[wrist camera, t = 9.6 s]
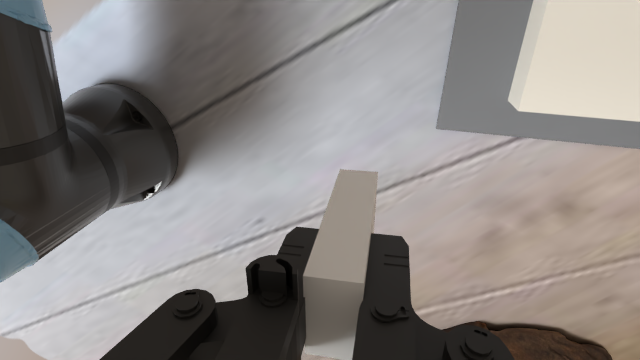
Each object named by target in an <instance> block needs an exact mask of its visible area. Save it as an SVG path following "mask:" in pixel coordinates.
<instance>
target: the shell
mask: <svg viewBox="0 0 640 360" xmlns="http://www.w3.org/2000/svg"><path fill="white" fill-rule="evenodd" d="M462 325H472V326H478V327H481V328H483V329H486V330H488V328H487V327H486V326H487V325H486V324H485V323H481V322H479V321H476V322H471V323H465V324H461V325H458V326H462ZM455 327H457V326H455ZM455 327H452V328H449V329H443V330H442V331H445V332H447V333H448V332H449V331H451V330H452V329H453V328H455ZM490 332H492V333H493V334H495V335H496V336H497V337H499V338H500V339H501V340H502V342H503V343H504V344H505V345H506V346H507V348H508V349H509V351H510V353H511V354H512V356H513V358H514V359H515V360H612V357H611V356H610V355H609V354H608V353H607V351H606V350H605V349H603V348H600V347H598V346H594V345H590V344H579V343H576V342H572V341H569V340H568V339H566V338H565V336H564V335H562V334H561V333H559V332H555V331H547V330H537V329H529V328H507V329H503V330H501V331H492V330H490Z"/></svg>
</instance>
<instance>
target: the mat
mask: <svg viewBox="0 0 640 360" xmlns="http://www.w3.org/2000/svg"><path fill="white" fill-rule="evenodd" d="M532 4H533V0H459V3H458V9H457V14H456V20H455V25H454V31H453V37H452V42H451V48H450V53H449V59H448V65H447V70H446V76H445V81H444V87H443V93H442V98H441V104H440V109H439V115H438V121H437V126H436V129H443V130H453V131H463V132H473V133H483V134H493V135H504V136H514V137H524V138H534V139H544V140H554V141H565V142H575V143H585V144H595V145H605V146H615V147H625V148H636V149H640V122H637V121H625V120H614V119H603V118H591V117H580V116H568V115H557V114H545V113H534V112H522V111H517V110H516V108H515V107H514V106H513V105H512V104H511V103H510V102H509V101H508V97H509V93H510V90H511V86H512V82H513V78H514V74H515V70H516V66H517V62H518V58H519V54H520V50H521V47H522V43H523V39H524V35H525V31H526V27H527V23H528V19H529V15H530V11H531V8H532Z"/></svg>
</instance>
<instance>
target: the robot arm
mask: <svg viewBox="0 0 640 360" xmlns="http://www.w3.org/2000/svg"><path fill="white" fill-rule="evenodd" d="M50 32H52V28H51V26H50V25H49V24H48V22H47V18H46V14H45V10H44V7H43V2H42V0H0V282H2V281H4V280H6V279H7V278H9V277H11V276H12V275H14V274H15V273H17V272H19V271H20V270H22V269H24V268H25V267H29V266H32V265H34V264H35V263H36V262H37V261H38V260H39V259H41V258H42V257H43V256H45V255H46V254H48V253H49V252H50V251H52V250H53V249H55V248H56V247H57V246H59V245H60V244H62V243H63V242H64V241H66V240H67V239H69V238H70V237H71V236H73V235H74V234H76V233H77V232H78V231H80V230H81V229H83V228H84V227H85V226H87V225H88V224H90V223H91V222H92V221H94V220H95V219H97V218H98V217H99V216H101V215H102V214H103V213H105V212H106V211H108V210H109V209H112V208H116V207H120V206H125V205H129V204H133V203H137V202H141V201H144V200H147V199H149V198H151V197H153V196H154V195H156V194H157V193H158V192H160V191H161V190H162V189H164V188H165V187H166V186H167V185H168V184H169V183H170V182H171V180H172V179H173V177H174V175H175V172H176V168H177V163H178V152H177V145H176V141H175V138H174V135H173V133H172V130H171V128H170V126H169V124H168V123H167V121H166V119H165V118H164V116H163V115H162V114H161V112H160V111H159V110H158V109H157V108H156V107H155V106H154V105H153V104H152V103H151V102H150V101H149V100H148V99H146V98H145V97H144V96H142V95H141V94H139V93H138V92H136V91H134V90H132V89H130V88H127V87H124V86H121V85H117V84H99V85H95V86H91V87H88V88H84V89H81V90H79V91H77V92H75V93H74V94H72V95H71V96H70V97H69V98H68V99H66V100H65V101H64V102H63V103H62V99H61V93H60V88H59V83H58V77H57V71H56V65H55V59H54V53H53V47H52V41H51V36H50ZM377 177H378V172H368V171H355V170H341V169H340V171H339V174H338V177H337V180H336V183H335V186H334V188H333V191H332V194H331V197H330V200H329V203H328V206H327V208H326V211H325V214H324V217H323V220H322V223H321V226H320V228H319V229H314V228H304V227H296V228H294V229H293V230H292V231H291V232H289V233H288V234H287V235H286V237H285V239H284V241H283V243H282V246H281V248H280V250H279V252H278V254H277V255H268V256H264V257H260V258H258V259H256V260H254V261H252V262H251V263H250V264H249V265H248V266H247V267H246V276H247V285H248V296H247V297H245V298H243V299H239V300H234V301H226V302H217V303H216V302H215V299H214V297H213V295H212V294H211V293H209V292H207V291H206V290H200V289H192V290H186V291H183V292H180V293H177V294H175V295H174V296H172V297H171V298H169V299H168V300H167V301H166V302H165V303H163V304H162V305H161V306H160V307H159V308H158V309H157V310H155V311H154V312H153V313H152V314H151V315H150V316H149V317H147V318H146V319H145V320H144V321H143V322H142V323H141V324H139V325H138V326H137V327H136V328H135V329H134V330H133V331H132V332H130V333H129V334H128V335H127V336H126V337H125V338H124V339H122V340H121V341H120V342H119V343H118V344H117V345H116V346H114V347H113V348H112V349H111V350H110V351H109V352H108V353H107V354H105V355H104V356H103V357H102V358H101V359H100V360H301V354H302V351H303V347H304V344H305V354H310V355H316V356H322V357H329V358H335V359H341V360H515V359H514V358H513V356H512V354H511V353H510V351H509V349H508V348H507V346H506V345H505V344H504V343H503V342H502V340H501V339H500V338H499V337H497V336H496V335H495V334H493V333H492V332H490V331H489V330H486V329H483V328H481V327H478V326H472V325H462V326H457V327H455V328H453V329H452V330H451V331H449V332H448V333H447V332H445V331H442V330H440V329H437V328H435V327H433V326H431V325H429V324H427V323H426V322H424V321H423V320H422V319H420V318H419V316H418V315H417V314H416V313H415V312H414V310H413V308H412V305H411V295H410V268H409V246H408V245H407V243H406V242H405V240H404V239H403V237H402V236H393V235H383V234H373V233H374V220H375V206H376V191H377Z"/></svg>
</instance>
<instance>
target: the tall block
mask: <svg viewBox="0 0 640 360" xmlns="http://www.w3.org/2000/svg"><path fill="white" fill-rule="evenodd" d="M508 101H509V102H510V103H511V104H512V105H513V106H514V107H515V108H516V110H517V111H522V112H534V113H545V114H557V115H568V116H580V117H591V118H603V119H614V120H625V121H637V122H640V0H533V4H532V8H531V11H530V15H529V19H528V23H527V27H526V31H525V35H524V39H523V43H522V47H521V50H520V54H519V58H518V62H517V66H516V70H515V74H514V78H513V82H512V86H511V90H510V93H509V97H508Z"/></svg>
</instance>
